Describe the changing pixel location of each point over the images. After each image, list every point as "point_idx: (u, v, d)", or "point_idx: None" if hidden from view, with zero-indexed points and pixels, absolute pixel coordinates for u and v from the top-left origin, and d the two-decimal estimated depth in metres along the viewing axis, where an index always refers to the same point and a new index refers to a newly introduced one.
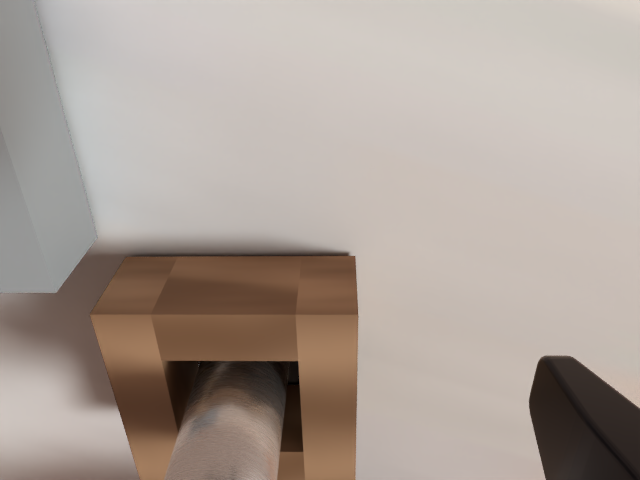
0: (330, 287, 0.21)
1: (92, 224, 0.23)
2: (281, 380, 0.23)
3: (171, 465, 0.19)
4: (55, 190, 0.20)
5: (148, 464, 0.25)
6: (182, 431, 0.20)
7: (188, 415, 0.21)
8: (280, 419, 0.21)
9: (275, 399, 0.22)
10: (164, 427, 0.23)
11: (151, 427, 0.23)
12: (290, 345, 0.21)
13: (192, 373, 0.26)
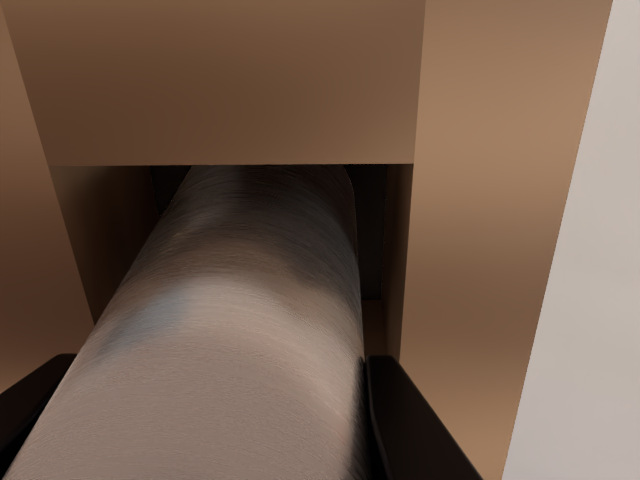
0: None
1: None
2: (351, 246, 0.10)
3: (30, 433, 0.06)
4: None
5: None
6: (88, 339, 0.07)
7: (112, 299, 0.07)
8: (361, 326, 0.08)
9: (347, 276, 0.08)
10: None
11: None
12: (398, 109, 0.07)
13: None
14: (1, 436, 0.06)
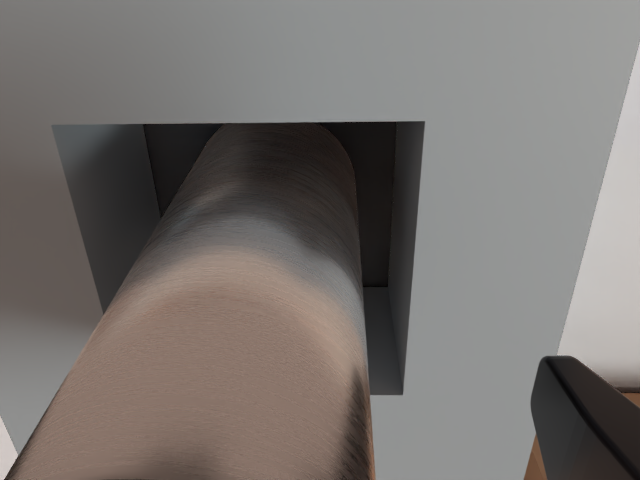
0: None
1: None
2: (352, 219, 0.10)
3: (73, 364, 0.06)
4: None
5: None
6: (118, 291, 0.08)
7: (138, 260, 0.08)
8: (361, 287, 0.09)
9: (348, 242, 0.09)
10: None
11: None
12: None
13: None
14: None
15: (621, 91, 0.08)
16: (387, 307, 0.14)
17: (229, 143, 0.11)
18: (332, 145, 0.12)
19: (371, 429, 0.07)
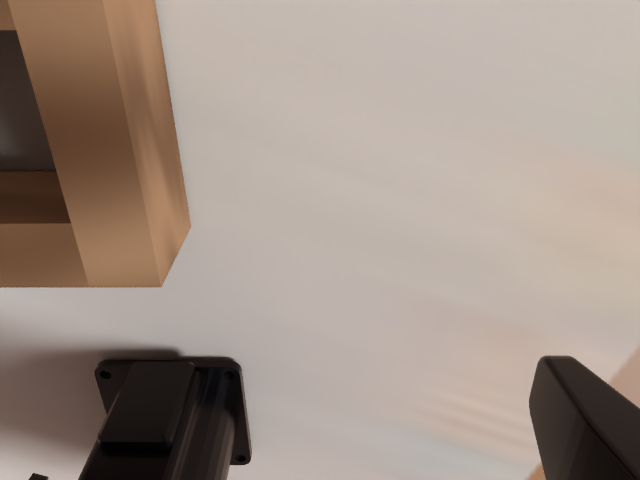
0: None
1: None
2: None
3: None
4: None
5: None
6: None
7: None
8: None
9: None
10: None
11: None
12: None
13: None
14: None
15: None
16: None
17: None
18: None
19: None
